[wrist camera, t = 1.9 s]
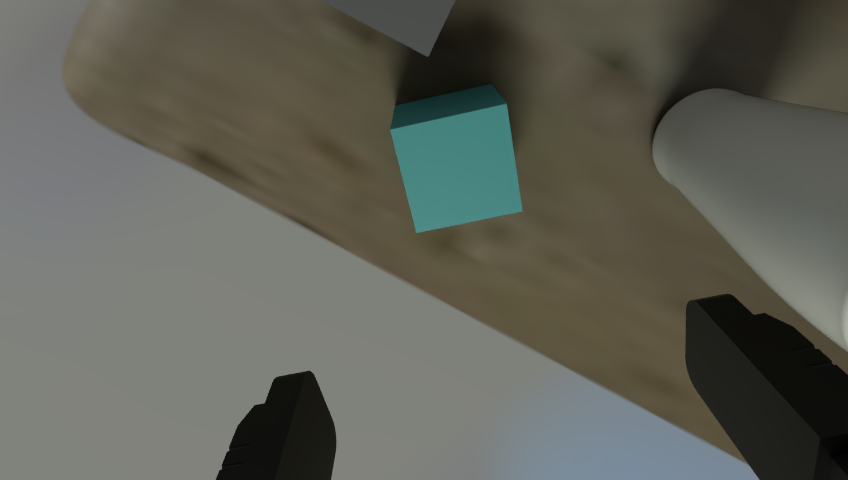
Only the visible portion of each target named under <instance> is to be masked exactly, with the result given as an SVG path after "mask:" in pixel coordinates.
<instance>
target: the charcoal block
mask: <svg viewBox="0 0 848 480" xmlns="http://www.w3.org/2000/svg"><path fill="white" fill-rule="evenodd" d="M321 1H323V2H325V3H326V4H328V5H330V6H332V7H334V8H336V9H338V10H340V11H342V12H343V13H345V14H347V15H349V16H351V17H353V18H355V19H357V20H359V21H360V22H362V23H364V24H366V25H368V26H370V27H372V28H374V29H376V30H377V31H379V32H381V33H383V34H385V35H387V36H389V37H391V38H393V39H394V40H396V41H398V42H400V43H402V44H404V45H406V46H408V47H410V48H412V49H413V50H415V51H417V52H419V53H421V54H423V55H425V56H427V57H429V55H430V52H431V50H432V48H433V46H434V44H435V42H436V40H437V38H438V36H439V34H440V31H441V29H442V27H443V25H444V23H445V21H446V19H447V17H448V15H449V13H450V11H451V8H452V6H453V4H454V2H455V0H321Z"/></svg>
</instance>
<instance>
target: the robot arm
mask: <svg viewBox="0 0 848 480" xmlns="http://www.w3.org/2000/svg"><path fill="white" fill-rule="evenodd" d="M685 358H686V366H687V370H688V374H689V377H690V379H691V382H692V384H693V386H694V387H695V389H696V391H697V392H698V393H699V395H700V396H701V398H702V399H703V401H704V402H705V403H706V405H707V406H708V408H709V409H710V410H711V412H712V413H713V415H714V416H715V417H716V419H717V420H718V422H719V423H720V425H721V426H722V427H723V429H724V430H725V432H726V433H727V434H728V436H729V437H730V439H731V440H732V441H733V443H734V444H735V446H736V447H737V449H738V450H739V451H740V453H741V454H742V456H743V457H744V458H745V460H746V461H747V463H748V464H749V466H750V467H751V468H752V470H753V471H754V473H755V474H756V475H757V477H758V478H759V479H760V480H848V375H847V374H846V373H845V372H844V371H843V370H842V369H840V368H839V367H838V366H837V365H833V364H832V361H831V360H830V359H829V358H828V357H827V356H826V355H825V354H823V353H822V352H821V351H820V350H819V349H815V348H814V345H813V344H812V343H811V342H810V341H809V340H808V339H806V338H805V337H804V336H803V335H802V334H801V333H800V332H799V331H797V330H796V329H795V328H794V327H793V326H791V325H788V324H786V323H784V322H782V321H780V320H778V319H776V318H774V317H772V316H770V315H768V314H765V313H762V314H757V315H753V314H752V313H751V312H750V311H749V310H748V309H747V308H746V307H745V306H744V305H743V304H742V303H741V302H739V301H738V300H737V299H736V298H735V297H734V296H733V295H731V294H723V295H717V296H712V297H707V298H701V299H696V300H691V301H689V302H688V303H687V307H686V352H685ZM335 453H336V432H335V426H334V422H333V420H332V417H331V415H330V412H329V410H328V407H327V405H326V402H325V400H324V397H323V395H322V392H321V390H320V387H319V385H318V383H317V381H316V378H315V376H314V374H313V373H312V372H311V371H306V372H301V373H295V374H289V375H285V376H279V377H276V378H275V379H274V380H273V382H272V385H271V388H270V390H269V393H268V396H267V399H266V401H265V403H264V404H259V405H254V407H253V408H252V409H251V411H249V413H248V414H247V415H246V416H245V418H244V419H243V420H242V421H241V423H240V424H239V425H238V427H237V429H236V431H235V434H234V436H233V439H232V441H231V444H230V446H229V451H228V452H227V453H226V456H225V459H224V461H223V464H222V470H220V471H219V473H218V475H217V478H216V480H331V476H332V469H333V464H334V458H335Z"/></svg>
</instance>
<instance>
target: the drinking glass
mask: <svg viewBox="0 0 848 480" xmlns="http://www.w3.org/2000/svg"><path fill="white" fill-rule="evenodd" d="M652 156H653V161H654V164H655V167H656V169H657V170H658V172H659V174H660V175H661V176H662V177H663V178H664V179H665V180H666V181H667V182H668V183H669V184H671V185H672V186H673V187H674V188H676V189H677V190H678V191H679V192H680V193H681V194H682V195H683V196H684V197H685V198H686V199H687V200H688V201H689V202H690V203H691V204H692V205H693V206H694V207H695V208H696V210H697V211H698V212H699V213H700V214H701V215H702V216H703V217H704V218H705V219H706V220H707V221H708V222H709V223H710V224H711V226H712V227H713V228H714V229H715V230H716V231H717V232H718V233H719V234H720V235H721V236H722V237H723V238H724V240H725V241H726V242H727V243H728V244H729V245H730V246H731V247H732V248H733V249H734V250H735V251H736V252H737V254H738V255H739V256H740V257H741V258H742V259H743V260H744V261H745V262H746V263H747V264H748V265H749V266H750V268H751V269H752V270H753V271H754V272H755V273H756V274H757V275H758V276H759V277H760V278H761V279H762V280H763V281H764V282H765V283H766V284H767V285H768V286H769V287H770V288H771V289H772V290H773V291H774V292H775V293H776V294H777V295H778V296H779V297H780V298H781V299H783V300H784V301H785V302H786V303H787V304H788V305H789V306H790V307H792V308H793V309H794V310H795V311H796V312H797V313H798V314H800V315H801V316H802V317H803V318H804V319H806V320H807V321H808V322H809V323H811V324H812V325H813V326H814V327H815V328H817V329H818V330H819V331H820V332H822V333H823V334H824V335H825V336H827V337H828V338H829V339H831V340H832V341H833V342H834V343H836V344H837V345H838V346H840V347H841V348H842V349H844V350H845V351H846V352H848V113H845V112H839V111H833V110H828V109H822V108H816V107H810V106H804V105H799V104H793V103H787V102H782V101H776V100H771V99H765V98H760V97H755V96H750V95H746V94H743V93H740V92H737V91H734V90H730V89H724V88H711V89H705V90H701V91H698V92H695V93H693V94H690V95H688V96H687V97H685V98H683V99H682V100H680V101H679V102H677V103H676V104H675V105H674V106H673V107H672V108H670V110H669V111H668V112H667V113H666V114H665V115H664V117H663V118H662V120H661V121H660V123H659V125H658V127H657V129H656V131H655V134H654V138H653V143H652Z"/></svg>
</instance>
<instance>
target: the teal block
mask: <svg viewBox="0 0 848 480" xmlns="http://www.w3.org/2000/svg"><path fill="white" fill-rule="evenodd" d="M390 130H391V134H392V138H393V142H394V146H395V150H396V154H397V158H398V162H399V166H400V170H401V174H402V178H403V182H404V186H405V190H406V193H407V197H408V201H409V205H410V209H411V213H412V217H413V221H414V225H415V229H416V233H418V232H423V231H428V230H433V229H438V228H443V227H448V226H453V225H458V224H463V223H468V222H472V221H477V220H482V219H487V218H492V217H497V216H502V215H507V214H512V213H517V212H522V205H521V198H520V191H519V184H518V178H517V171H516V164H515V157H514V150H513V143H512V136H511V129H510V123H509V116H508V109H507V103H506V102H505V101H504V99H503V98H502V97H501V95H500V94H499V93H498V91H497V90H496V89H495V88H494V86H493V85H492V84H488V85H483V86H479V87H474V88H470V89H466V90H461V91H457V92H452V93H448V94H443V95H439V96H435V97H430V98H426V99H421V100H417V101H413V102H408V103H404V104H399V105H395V109H394V114H393V119H392V124H391V129H390Z"/></svg>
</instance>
